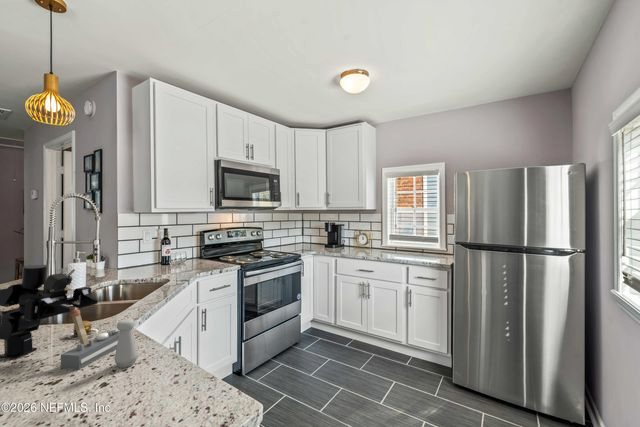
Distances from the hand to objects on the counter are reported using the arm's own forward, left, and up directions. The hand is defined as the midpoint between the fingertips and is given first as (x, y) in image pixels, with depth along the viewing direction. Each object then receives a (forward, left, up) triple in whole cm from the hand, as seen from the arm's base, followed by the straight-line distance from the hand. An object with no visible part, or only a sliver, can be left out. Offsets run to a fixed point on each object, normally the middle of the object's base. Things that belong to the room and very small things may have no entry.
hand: (84, 305), depth 93 cm
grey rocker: (+2, +9, -11) cm, 15 cm away
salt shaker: (+16, -2, -16) cm, 23 cm away
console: (+2, +3, -16) cm, 16 cm away
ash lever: (+2, -1, -11) cm, 12 cm away
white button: (+2, +5, -12) cm, 13 cm away
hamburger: (-18, +17, -17) cm, 30 cm away
